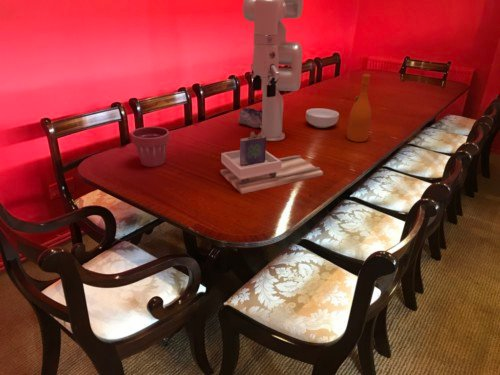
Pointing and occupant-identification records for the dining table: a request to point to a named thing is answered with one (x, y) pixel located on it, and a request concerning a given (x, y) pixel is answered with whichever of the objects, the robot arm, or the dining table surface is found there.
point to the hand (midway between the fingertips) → (263, 93)
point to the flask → (252, 150)
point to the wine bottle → (360, 114)
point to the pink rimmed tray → (250, 166)
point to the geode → (250, 117)
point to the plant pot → (151, 145)
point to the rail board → (290, 172)
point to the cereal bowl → (322, 117)
